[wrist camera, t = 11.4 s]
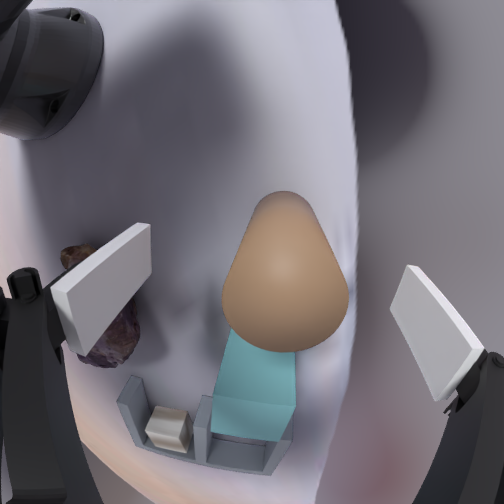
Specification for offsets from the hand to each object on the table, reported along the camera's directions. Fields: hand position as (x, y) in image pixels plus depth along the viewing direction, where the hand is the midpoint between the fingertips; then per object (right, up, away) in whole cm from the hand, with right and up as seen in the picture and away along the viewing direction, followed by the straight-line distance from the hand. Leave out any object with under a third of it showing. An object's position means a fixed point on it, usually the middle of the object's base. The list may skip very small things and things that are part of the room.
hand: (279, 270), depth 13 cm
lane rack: (-7, -23, +20) cm, 31 cm away
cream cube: (-13, -24, +21) cm, 34 cm away
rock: (-15, -3, +13) cm, 21 cm away
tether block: (0, -3, +11) cm, 12 cm away
